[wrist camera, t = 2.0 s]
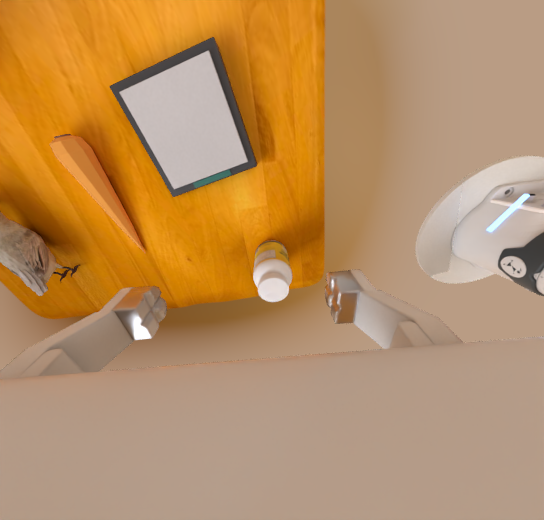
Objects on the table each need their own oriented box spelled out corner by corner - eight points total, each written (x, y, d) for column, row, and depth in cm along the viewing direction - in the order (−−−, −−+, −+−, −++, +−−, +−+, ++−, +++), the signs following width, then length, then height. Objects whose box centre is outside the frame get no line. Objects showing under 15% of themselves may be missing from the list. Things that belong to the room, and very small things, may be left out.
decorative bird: (4, 191, 32) (-61, 203, 26) (88, 267, 40) (54, 291, 33) (-18, 204, 33) (-86, 220, 27) (68, 276, 41) (31, 301, 34)
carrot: (70, 135, 29) (34, 141, 26) (88, 129, 28) (52, 135, 24) (147, 247, 41) (129, 260, 38) (163, 248, 39) (145, 262, 36)
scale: (217, 45, 25) (212, 34, 22) (257, 164, 31) (256, 166, 29) (121, 90, 26) (106, 85, 24) (178, 193, 33) (171, 198, 31)
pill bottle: (285, 267, 42) (292, 307, 32) (254, 266, 41) (252, 306, 31) (288, 239, 38) (297, 273, 28) (255, 238, 38) (252, 272, 28)
